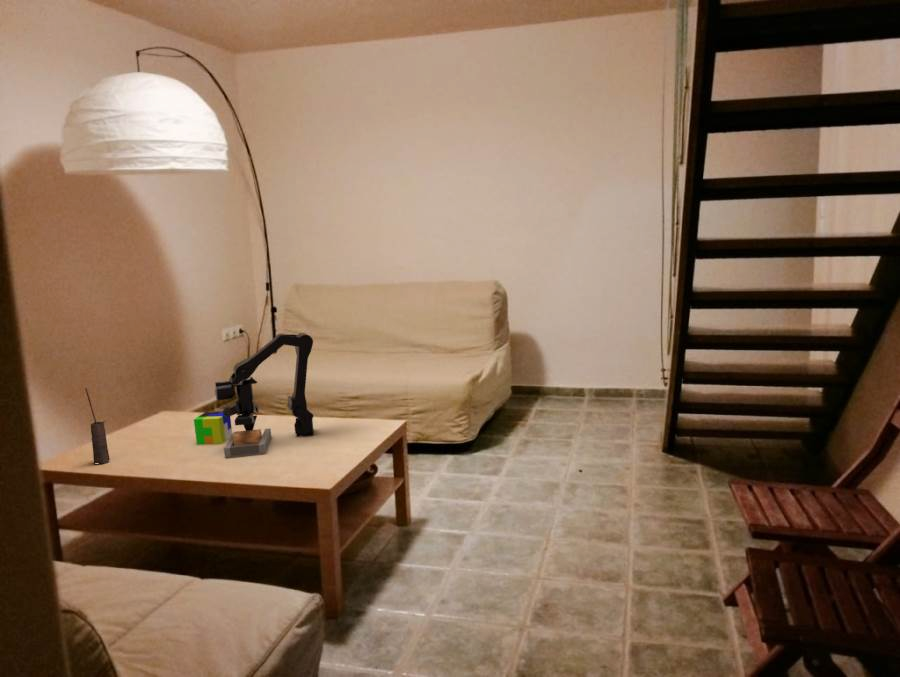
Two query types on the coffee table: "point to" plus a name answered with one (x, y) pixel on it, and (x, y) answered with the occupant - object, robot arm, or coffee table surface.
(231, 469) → the coffee table surface
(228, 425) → the puzzle toy
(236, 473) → the coffee table surface
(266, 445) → the chute
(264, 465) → the coffee table surface
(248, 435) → the orange block
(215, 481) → the coffee table surface
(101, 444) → the butter churn
